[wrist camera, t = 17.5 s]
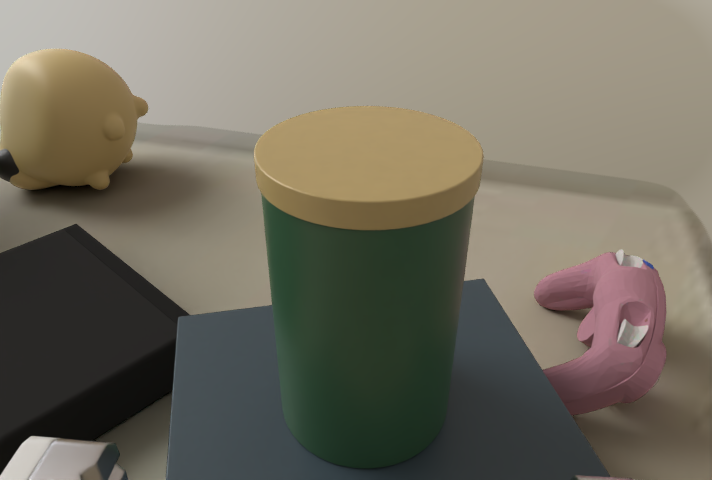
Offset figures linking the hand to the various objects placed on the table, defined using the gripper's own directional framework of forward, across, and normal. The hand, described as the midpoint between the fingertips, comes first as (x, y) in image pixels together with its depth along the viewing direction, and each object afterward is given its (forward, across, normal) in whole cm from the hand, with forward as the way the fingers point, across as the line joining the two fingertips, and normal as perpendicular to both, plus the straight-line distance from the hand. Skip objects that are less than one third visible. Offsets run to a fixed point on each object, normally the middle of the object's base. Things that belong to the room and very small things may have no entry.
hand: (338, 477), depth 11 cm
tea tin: (+8, 0, +7) cm, 11 cm away
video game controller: (+17, -11, +13) cm, 24 cm away
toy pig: (+35, +25, +13) cm, 46 cm away
